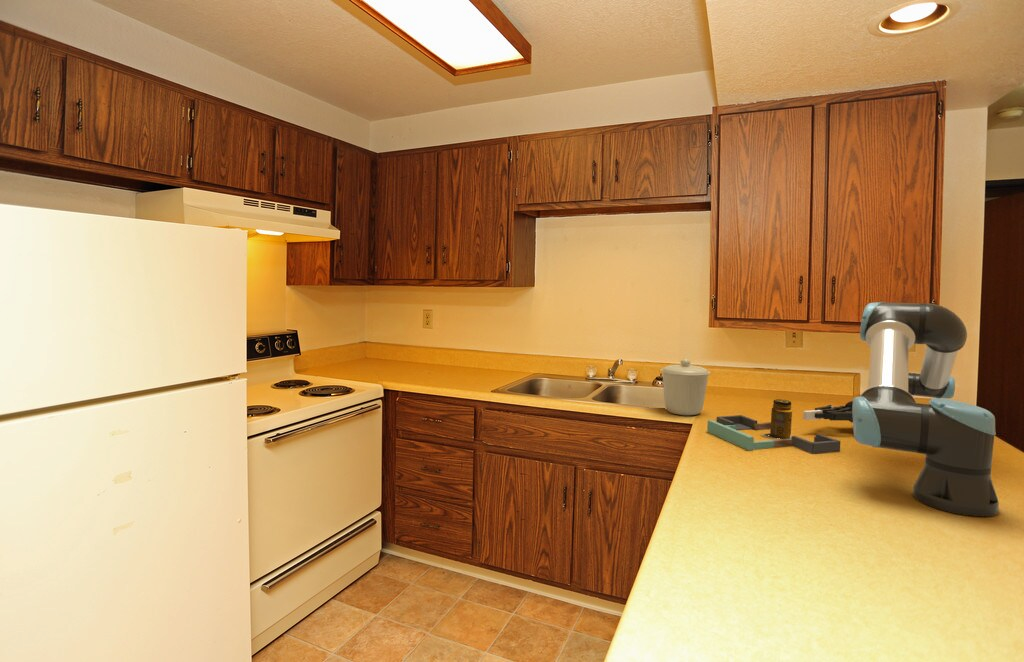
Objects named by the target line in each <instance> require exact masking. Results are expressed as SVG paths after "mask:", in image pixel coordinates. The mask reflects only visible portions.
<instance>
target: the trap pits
mask: <svg viewBox="0 0 1024 662" xmlns="http://www.w3.org/2000/svg"><path fill="white" fill-rule="evenodd" d="M715 422H718V423H720V424H723V425H731V426H732V425H735V430H737V431H745V430H748V431H749V430H754V429H753V425H754V424H757V423H758V420H756V419H753V418H751V417H748V416H745V415H742V414H738V415H737V414H736V415H723V416H716V420H715ZM815 437H817V438H816V439H815V440H816V441H815V442H814V441H810V440H807V439H805V438H803V437H800V436H796V435H791V439H792V440H793V445H792V446H791V447H794V448H795V449H800V450H802V451H804V452H806V453H809V454H821V453H822V454H825V453H833V452H834V453H835V452H840V451H841V440H838V439H835V438H832V437H829V436H826V435H824V434H821V433H815Z"/></svg>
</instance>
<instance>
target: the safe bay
mask: <svg viewBox="0 0 1024 662" xmlns="http://www.w3.org/2000/svg"><path fill="white" fill-rule="evenodd" d="M706 427H707V428H706V429H707V431H706V432H707V434H708V433H709V434H711V435H713V436H715V437H718V438H719V439H722V440H724V441H726V442H728V443H731V444H733V445H735V446H738V447H740V448H742V449H745V450H746V451H754V450H762V448H764V449H772V448H773V449H774V441H772V440H773V439H769V440H768V439H767V440H755V437H754V436H752V435H750V434H747V433H745V432H742V431H741V430H735V425H732V426H731V425H723V424H720V423H718V422H716V420H712V419H709V420H707V426H706ZM754 440H755V441H754Z"/></svg>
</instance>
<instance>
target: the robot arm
mask: <svg viewBox="0 0 1024 662" xmlns="http://www.w3.org/2000/svg"><path fill="white" fill-rule="evenodd" d="M967 331H968V330H967V327H966V325H965V324H964V322H963V320H962V319H961V318H960V316H958V315H957V314H956V313H955V312H953V311H952V310H951V309H949V308H947V307H944V306H942V305H939V304H935V303H917V302H915V303H912V302H910V303H909V302H887V301H886V302H885V301H880V302H870V303H868V304H866V306H865V307H864V309H863V313H862V319H861V322H860V331H859V337H860V339H861V340H862V341H865V342H866V344H867V345H868V346H869V347H870V355H869V365H868V367H869V368H868V379H867V380H868V382H867V389H866V390H864V391H863V392H862V393H861V395H860V396H855V397H853V398H852V400H850V401H848V402H847V403H845V404H844V405H839V406H833V405H831V404H828V405H825V406H819V407H815V408H814V409H812V410H811V409H810V410H803V412H802V419H803V420H805V421H809V420H810V421H812V420H822V419H823V420H829V421H848V422H849V423H852V430H853V437H854V440H855V441H856V442H858V443H859V444H861V445H863V446H864V445H865V446H868V447H869V446H870V447H873V448H875V449H876V448H878V449H887V450H895V451H902V452H908V453H915V454H923V455H925V458H924V466H923V467H922V469H921V471H920V473H919V475H918V477H917V479H916V480H915V482H914V485H913V491H912V495H913V497H914V499H915V500H917V501H919V502H921V503H923V504H924V505H927V506H929V507H933V508H934V509H938V510H940V511H943V512H948V513H952V514H956V513H958V514H957V515H962V514H965V515H964V516H968V515H973V516H972V517H978V516H987V517H993V516H992V515H994V516H997V515H998V513H999V504H1000V501H999V499H998V496H997V493H996V489H995V485H994V483H993V480H992V477H991V476H992V466H993V454H994V444H995V443H994V442H995V436H996V434H997V433H996V418H995V417H996V416H995V415H994V414H993V413H992V412H991V411H990V410H987V409H986V408H983V407H980V406H977V405H975V404H971V403H966V402H962V401H958V400H953V399H952V398H953V397H954V395H955V390H956V379H955V377H953V376H951V375H952V371H953V369H954V365H955V362H956V359H957V355H958V353H959V352H958V351H960V350H961V349H962V348H964V346H965V344H966V342H967V338H968V332H967ZM914 344H916V345H925V350H924V355H923V360H922V364H921V367H920V368H921V369H920V373H917V372H916V373H915V372H914V373H913V372H909V350H910V349H911V348H912V347H913V346H914ZM914 396H917V397H925V398H931V399H930V401H928V404H926V403H918V402H916V400H915V397H914Z"/></svg>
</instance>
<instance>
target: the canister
mask: <svg viewBox="0 0 1024 662" xmlns="http://www.w3.org/2000/svg"><path fill="white" fill-rule="evenodd" d="M660 372H661V373H662V385H663V387H662V388H663V398H664V406H665V408H666V410H667V412H669V413H671V414H673V415H677V416H696V415H699V414H700V413H701V412H702V411H703V408H704V403H705V399H706V392H707V385H708V378H709V375H711V371H709V370H708V368H707V369H706V368H705V367H703V366H698V365H694V364H693V365H692V364H691V360H690V359H689V358H682V359H681V360H680V364H670V365H666V366H663V367H662V368H661V369H660Z"/></svg>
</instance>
